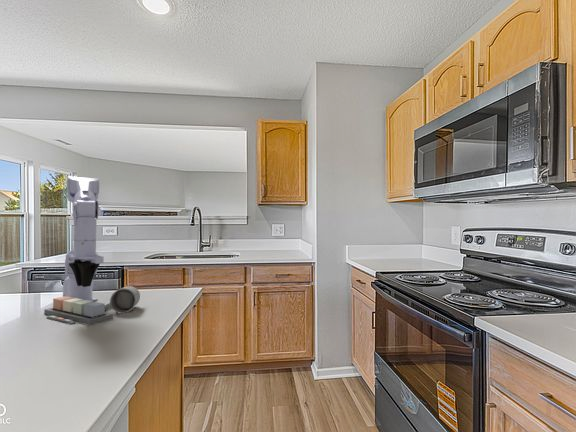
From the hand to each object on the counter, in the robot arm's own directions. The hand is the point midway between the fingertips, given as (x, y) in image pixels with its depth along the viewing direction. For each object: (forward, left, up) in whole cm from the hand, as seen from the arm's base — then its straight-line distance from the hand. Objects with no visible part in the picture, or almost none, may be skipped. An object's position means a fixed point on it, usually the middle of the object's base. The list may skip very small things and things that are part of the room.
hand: (83, 286), depth 101 cm
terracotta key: (-10, 0, -8) cm, 13 cm away
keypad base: (-3, 0, -9) cm, 10 cm away
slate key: (+5, 0, -8) cm, 9 cm away
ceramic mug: (+2, +11, -10) cm, 15 cm away
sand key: (-5, 0, -8) cm, 9 cm away
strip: (-3, -5, -9) cm, 11 cm away
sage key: (0, 0, -8) cm, 8 cm away
